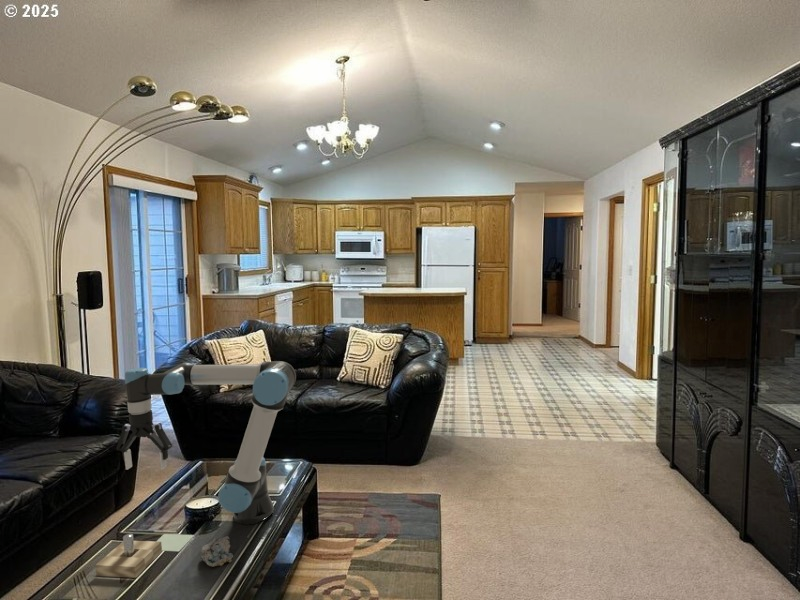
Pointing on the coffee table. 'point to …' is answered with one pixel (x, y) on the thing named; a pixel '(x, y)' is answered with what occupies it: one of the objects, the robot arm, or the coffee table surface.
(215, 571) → the coffee table surface
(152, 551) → the hole block
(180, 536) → the mat
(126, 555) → the pin
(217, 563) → the mineral specimen
